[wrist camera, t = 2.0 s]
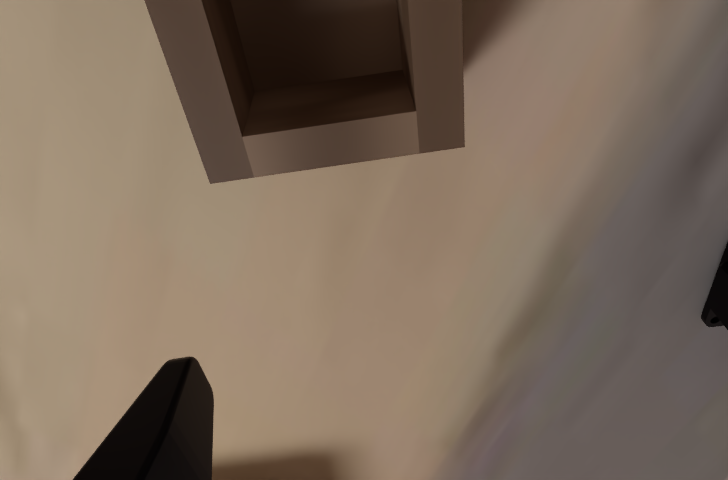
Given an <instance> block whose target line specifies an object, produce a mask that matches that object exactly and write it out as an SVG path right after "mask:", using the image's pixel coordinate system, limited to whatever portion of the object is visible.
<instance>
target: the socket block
mask: <svg viewBox="0 0 728 480" xmlns="http://www.w3.org/2000/svg"><path fill="white" fill-rule="evenodd" d="M145 3H146V6H147V9H148V12H149V14H150V17H151V20H152V23H153V25H154V28H155V31H156V34H157V37H158V39H159V42H160V45H161V48H162V51H163V53H164V56H165V59H166V62H167V65H168V67H169V70H170V73H171V76H172V79H173V81H174V84H175V87H176V90H177V92H178V95H179V98H180V101H181V104H182V106H183V109H184V112H185V115H186V118H187V120H188V123H189V126H190V129H191V132H192V134H193V137H194V140H195V143H196V145H197V148H198V151H199V154H200V157H201V159H202V162H203V165H204V168H205V171H206V173H207V176H208V179H209V182H210V184H212V183H219V182H226V181H233V180H240V179H247V178H253V177H260V176H267V175H274V174H281V173H288V172H295V171H302V170H309V169H316V168H323V167H329V166H336V165H343V164H350V163H357V162H364V161H371V160H378V159H385V158H392V157H399V156H405V155H412V154H419V153H426V152H433V151H440V150H447V149H454V148H461V147H465V140H464V85H463V30H462V0H145Z"/></svg>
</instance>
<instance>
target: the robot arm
mask: <svg viewBox="0 0 728 480" xmlns="http://www.w3.org/2000/svg"><path fill="white" fill-rule="evenodd" d="M701 319H702V320H703V322H704V323H705V324H706V326H708V327H716V326H723V325H724V326H725V327H726V328H727V330H728V243H727V245H726V248H725V251H724V254H723V256H722V259H721V262H720V265H719V268H718V270H717V273H716V276H715V279H714V281H713V284H712V287H711V290H710V293H709V295H708V298H707V301H706V304H705V306H704V309H703V312H702V315H701ZM213 412H214V398H213V392H212V388H211V386H210V384H209V382H208V380H207V378H206V376H205V374H204V372H203V370H202V368H201V366H200V364H199V362H198V361H197V359H195V358H194V357H184V358H177V359H172V360H169V361H167V362H166V363H165V364H164V365H163V366H162V367H161V368H160V370H159V371H158V372H157V373H156V375H155V376H154V377H153V379H152V380H151V381H150V382H149V384H148V385H147V386H146V387H145V389H144V390H143V391H142V392H141V394H140V395H139V396H138V398H137V399H136V400H135V401H134V403H133V404H132V405H131V406H130V408H129V409H128V410H127V411H126V413H125V414H124V415H123V417H122V418H121V419H120V420H119V422H118V423H117V424H116V425H115V427H114V428H113V429H112V430H111V432H110V433H109V434H108V436H107V437H106V438H105V439H104V441H103V442H102V443H101V444H100V446H99V447H98V448H97V449H96V451H95V452H94V453H93V455H92V456H91V457H90V458H89V460H88V461H87V462H86V463H85V465H84V466H83V467H82V468H81V470H80V471H79V472H78V474H77V475H76V476H75V477H74V479H73V480H212V448H213Z"/></svg>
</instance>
